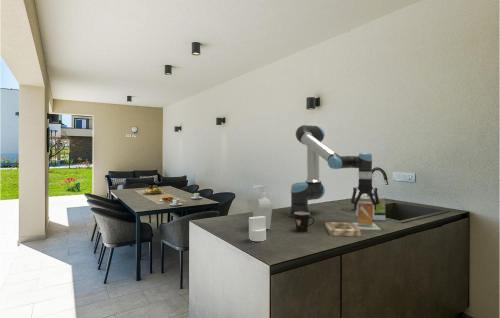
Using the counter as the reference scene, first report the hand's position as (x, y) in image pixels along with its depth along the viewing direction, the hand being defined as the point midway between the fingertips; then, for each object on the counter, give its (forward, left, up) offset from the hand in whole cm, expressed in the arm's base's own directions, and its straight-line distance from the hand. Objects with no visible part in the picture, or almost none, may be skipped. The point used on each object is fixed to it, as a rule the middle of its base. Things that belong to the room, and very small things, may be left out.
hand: (364, 215), depth 173 cm
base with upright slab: (-63, -32, -7) cm, 71 cm away
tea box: (+10, +21, -7) cm, 24 cm away
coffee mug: (-38, -13, -7) cm, 41 cm away
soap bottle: (-63, -10, -7) cm, 64 cm away
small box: (0, 0, -5) cm, 5 cm away
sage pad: (0, 0, -7) cm, 7 cm away
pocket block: (-16, -12, -7) cm, 21 cm away
